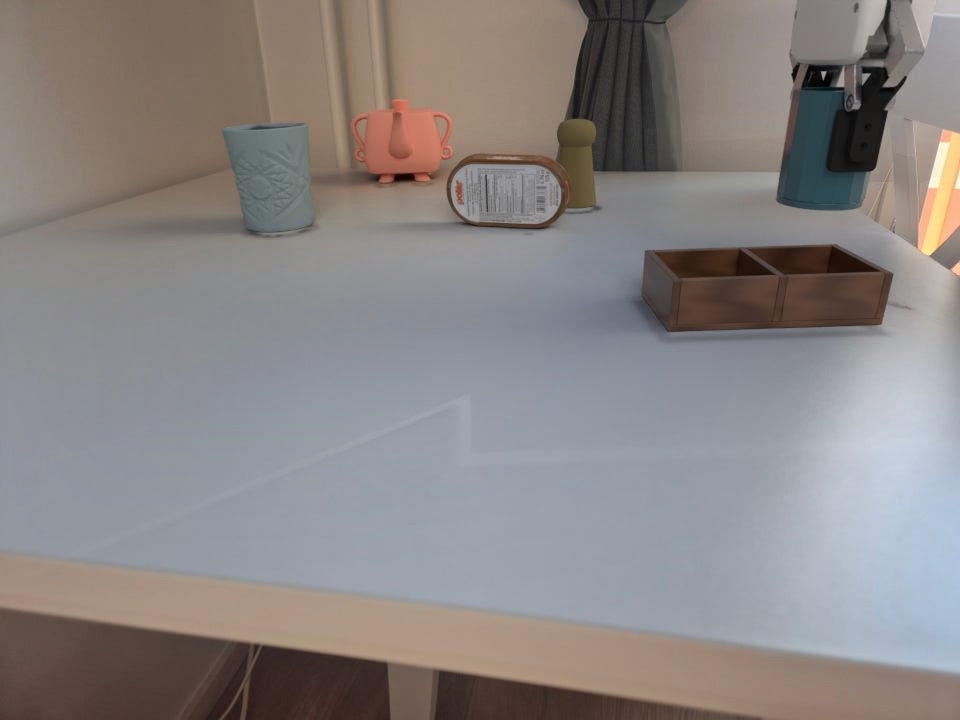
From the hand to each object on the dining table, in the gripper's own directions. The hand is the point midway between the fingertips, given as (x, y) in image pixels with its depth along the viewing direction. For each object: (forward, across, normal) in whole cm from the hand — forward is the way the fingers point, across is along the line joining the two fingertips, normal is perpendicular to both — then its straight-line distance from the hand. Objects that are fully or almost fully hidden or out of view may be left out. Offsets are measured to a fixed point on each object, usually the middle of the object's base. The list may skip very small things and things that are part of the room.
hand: (826, 161), depth 50 cm
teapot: (+12, +68, +37) cm, 79 cm away
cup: (+3, 0, 0) cm, 3 cm away
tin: (+12, +31, +22) cm, 40 cm away
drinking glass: (+12, +36, +51) cm, 63 cm away
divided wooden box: (+11, 0, +4) cm, 12 cm away
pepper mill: (+12, +43, +12) cm, 46 cm away
